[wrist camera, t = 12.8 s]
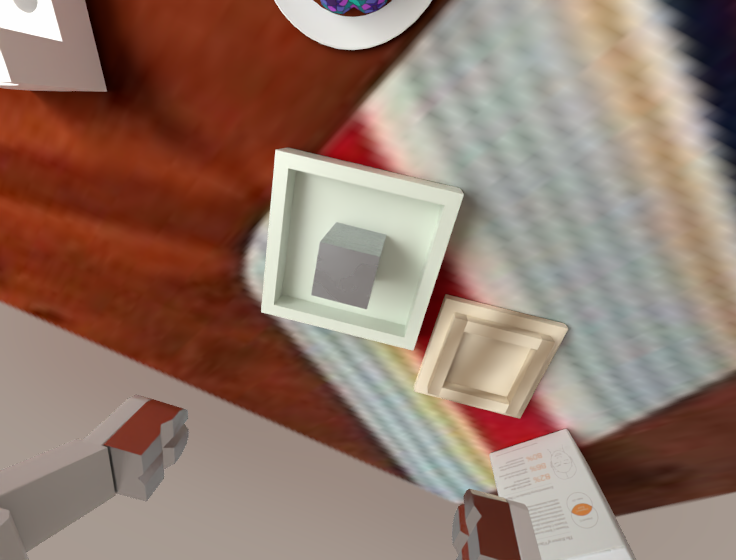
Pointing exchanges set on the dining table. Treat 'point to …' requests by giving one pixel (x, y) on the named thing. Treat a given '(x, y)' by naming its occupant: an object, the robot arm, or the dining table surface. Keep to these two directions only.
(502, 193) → the dining table surface
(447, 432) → the dining table surface
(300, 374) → the dining table surface
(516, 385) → the socket holder
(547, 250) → the dining table surface
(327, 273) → the gray block
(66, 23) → the bracket
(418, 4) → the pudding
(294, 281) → the tray
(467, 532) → the robot arm
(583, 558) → the small box
